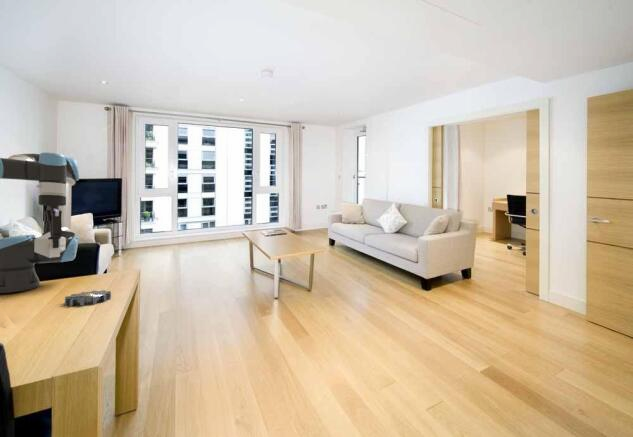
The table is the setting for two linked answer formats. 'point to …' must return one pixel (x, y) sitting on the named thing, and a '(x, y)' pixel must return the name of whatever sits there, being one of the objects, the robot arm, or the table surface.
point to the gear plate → (87, 298)
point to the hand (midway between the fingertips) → (52, 256)
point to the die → (47, 245)
